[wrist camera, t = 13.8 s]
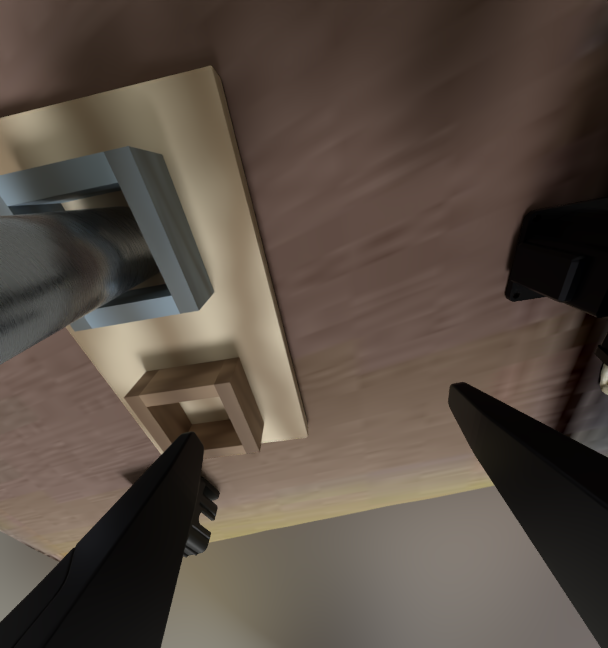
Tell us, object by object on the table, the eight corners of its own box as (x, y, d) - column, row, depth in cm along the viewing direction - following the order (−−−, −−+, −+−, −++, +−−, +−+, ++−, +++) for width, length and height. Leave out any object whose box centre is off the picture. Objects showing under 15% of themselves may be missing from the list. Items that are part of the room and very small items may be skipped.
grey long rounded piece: (169, 219, 15) (-68, 270, 5) (167, 284, 17) (-9, 408, 7) (91, 196, 14) (-341, 205, 5) (98, 266, 16) (-193, 377, 7)
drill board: (220, 77, 13) (185, 29, 9) (307, 425, 26) (308, 466, 22) (-43, 141, 14) (-174, 123, 10) (168, 442, 28) (146, 485, 24)
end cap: (194, 463, 30) (167, 532, 24) (224, 492, 33) (207, 558, 27) (128, 481, 32) (88, 549, 26) (163, 507, 35) (135, 572, 29)
